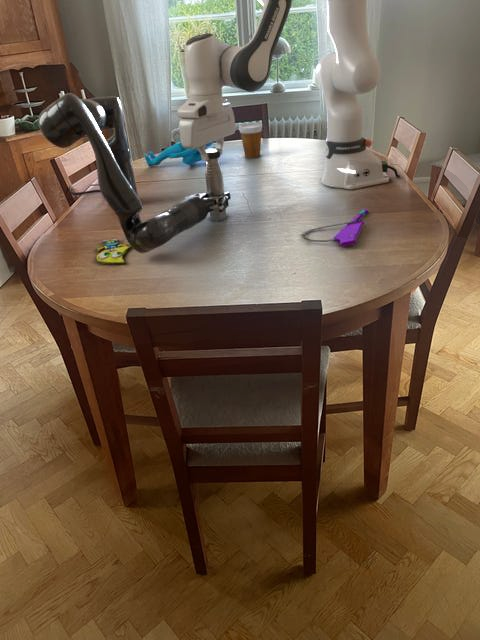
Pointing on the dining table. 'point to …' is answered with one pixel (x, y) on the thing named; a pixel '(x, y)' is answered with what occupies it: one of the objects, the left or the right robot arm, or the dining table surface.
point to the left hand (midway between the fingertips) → (221, 194)
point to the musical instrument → (345, 231)
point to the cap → (213, 153)
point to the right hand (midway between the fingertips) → (212, 157)
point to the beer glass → (251, 139)
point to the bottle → (215, 186)
